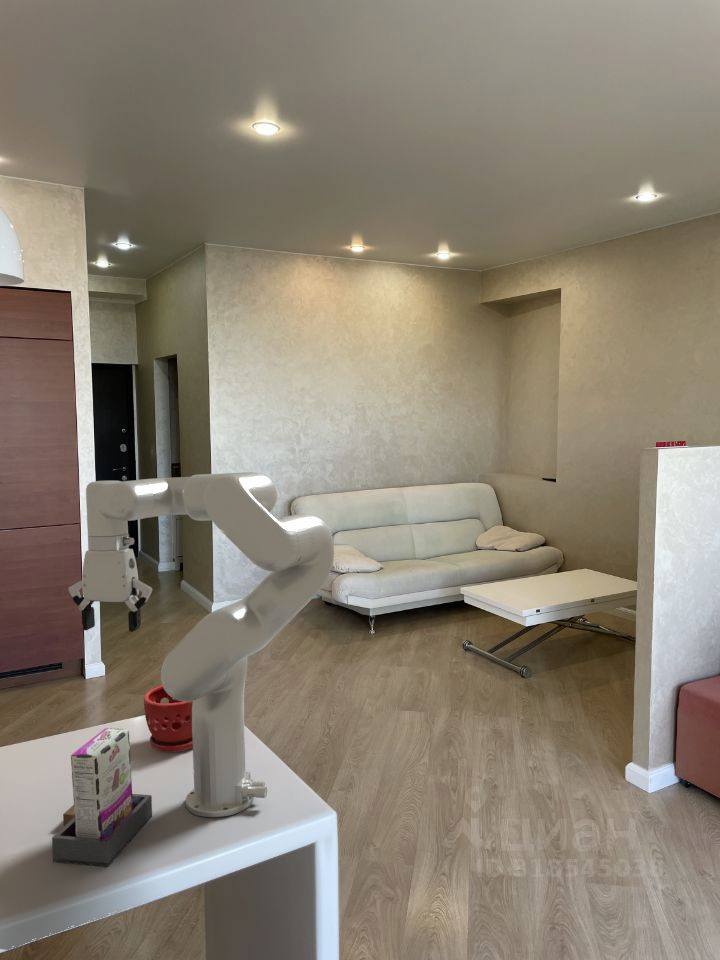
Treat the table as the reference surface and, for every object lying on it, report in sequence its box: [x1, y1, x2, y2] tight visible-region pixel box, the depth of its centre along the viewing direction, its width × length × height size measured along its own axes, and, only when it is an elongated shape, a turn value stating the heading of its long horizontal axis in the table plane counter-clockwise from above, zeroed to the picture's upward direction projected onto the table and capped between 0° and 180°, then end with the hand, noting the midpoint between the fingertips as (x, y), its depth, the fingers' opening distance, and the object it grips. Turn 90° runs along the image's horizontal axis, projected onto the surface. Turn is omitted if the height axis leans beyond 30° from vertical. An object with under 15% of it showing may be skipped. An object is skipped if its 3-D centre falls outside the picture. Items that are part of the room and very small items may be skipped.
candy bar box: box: [70, 727, 133, 839], centre depth 126 cm, size 11×5×16 cm, turn 170°
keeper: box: [51, 793, 153, 868], centre depth 126 cm, size 10×16×4 cm, turn 170°
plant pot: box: [143, 684, 193, 753], centre depth 164 cm, size 13×13×12 cm
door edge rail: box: [62, 804, 75, 827], centre depth 138 cm, size 2×16×2 cm, turn 170°
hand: (111, 629), depth 147 cm, fingers open, 9 cm apart
